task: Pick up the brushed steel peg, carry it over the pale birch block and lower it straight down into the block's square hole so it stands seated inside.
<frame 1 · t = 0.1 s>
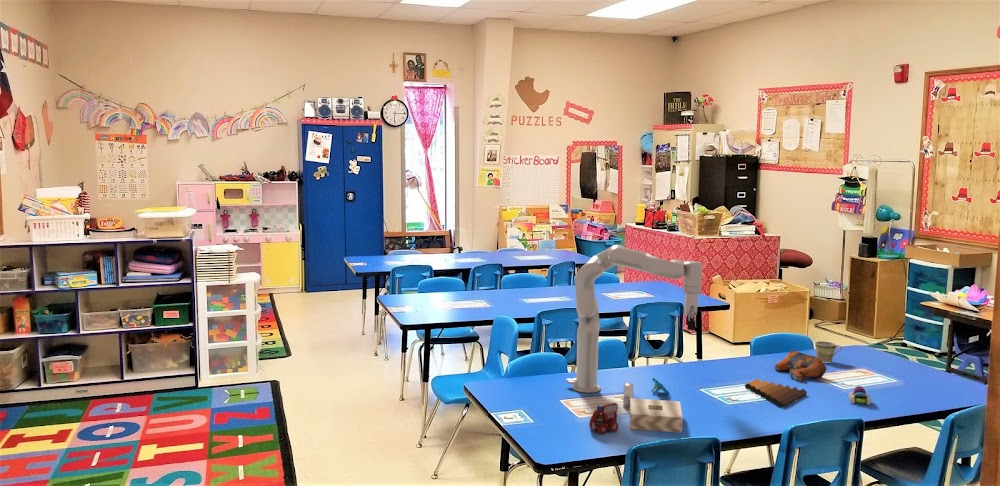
hand: (690, 327, 340), 31 cm above the table, tool pointing down, fingers open, 9 cm apart
hole block: (655, 422, 309), on the table
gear: (660, 394, 346), on the table
steel peg: (627, 407, 327), on the table
ceramic cup: (827, 362, 404), on the table
multicoloured small arched block: (859, 403, 338), on the table
toy fire truck: (603, 431, 299), on the table
pan flute: (768, 396, 347), on the table
orange lumpy piece: (795, 375, 381), on the table
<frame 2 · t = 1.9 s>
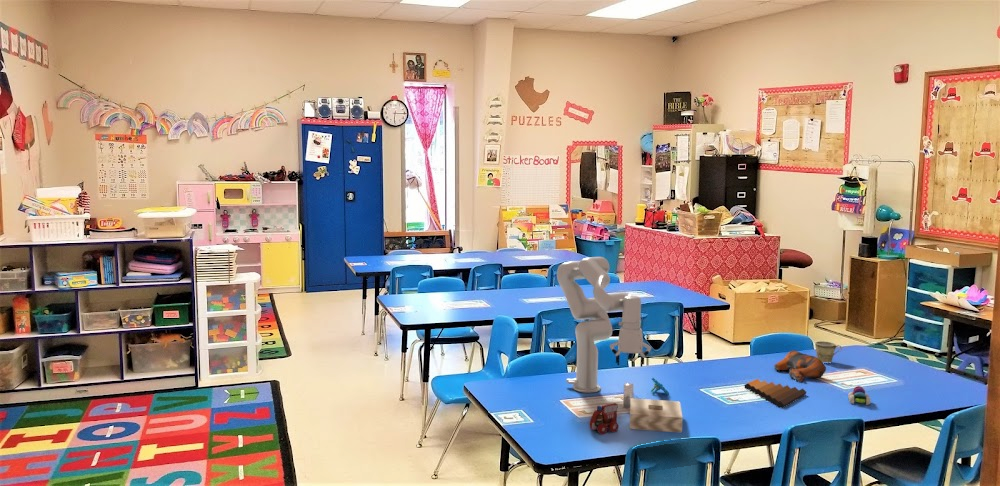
hand: (629, 365, 325), 18 cm above the table, tool pointing down, fingers open, 9 cm apart
nothing on the table moved.
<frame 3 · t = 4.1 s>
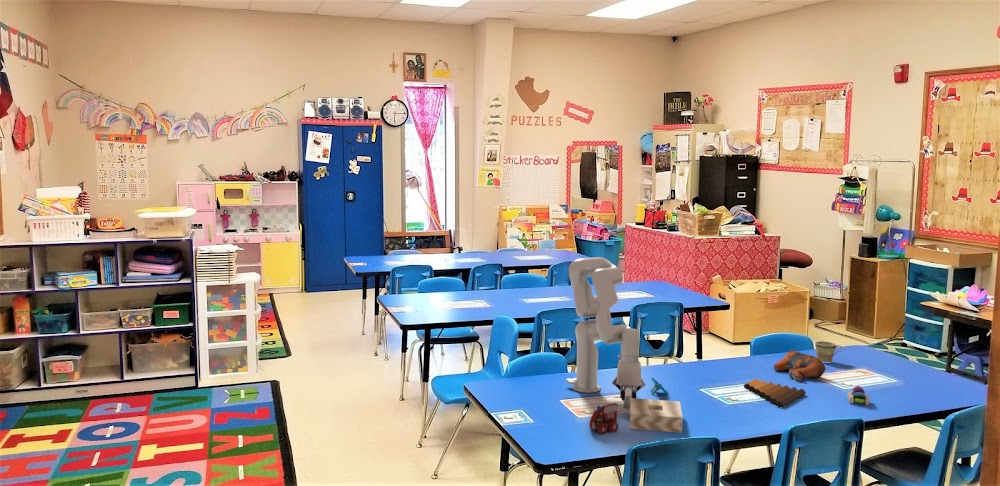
hand: (628, 399, 327), 3 cm above the table, tool pointing down, fingers closed on steel peg, 4 cm apart
steel peg: (627, 407, 327), on the table, touching gripper
everything else where it was.
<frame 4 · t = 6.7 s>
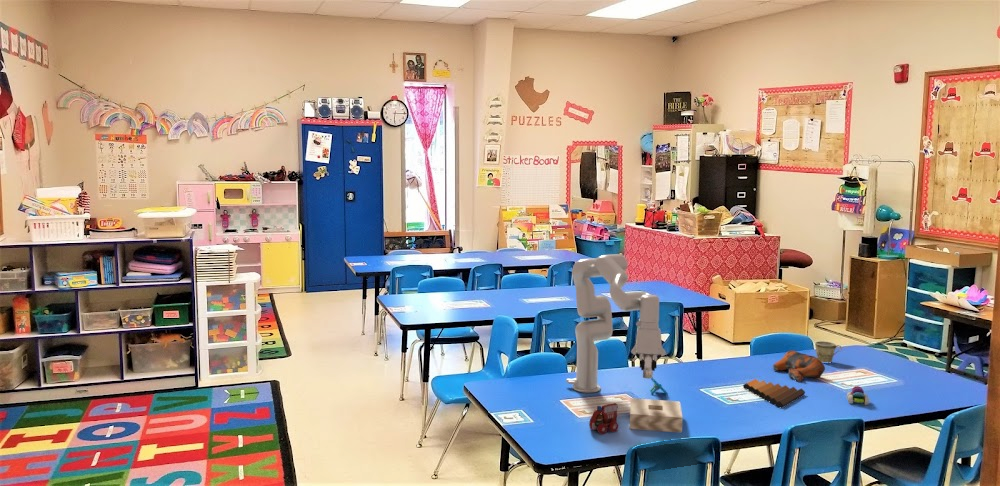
hand: (647, 369, 313), 20 cm above the table, tool pointing down, fingers closed on steel peg, 4 cm apart
steel peg: (647, 377, 313), point 17 cm above the table, touching gripper
everything else where it was.
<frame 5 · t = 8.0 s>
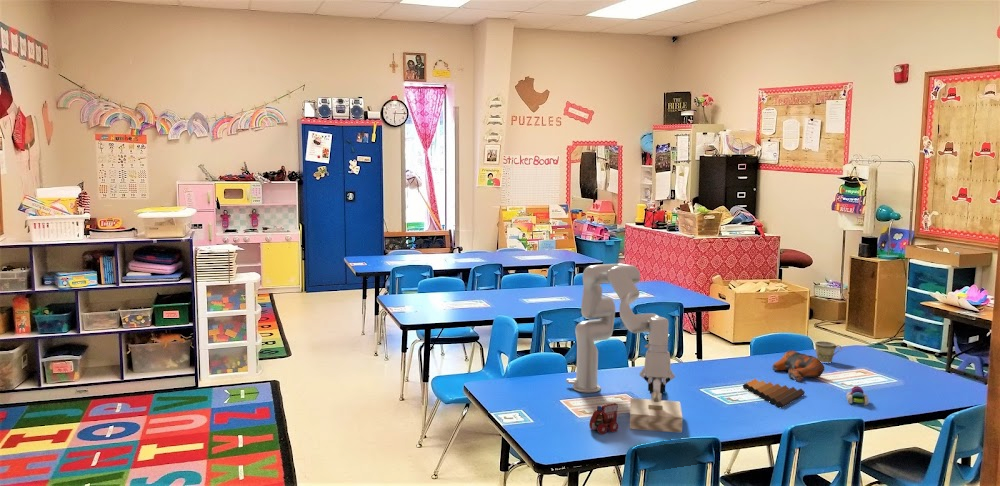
hand: (656, 392, 308), 12 cm above the table, tool pointing down, fingers closed on steel peg, 4 cm apart
steel peg: (656, 400, 308), point 9 cm above the table, touching gripper
when the fingers open (8 cm above the table, at t = 9.3 s): steel peg drops 4 cm, resting in hole block.
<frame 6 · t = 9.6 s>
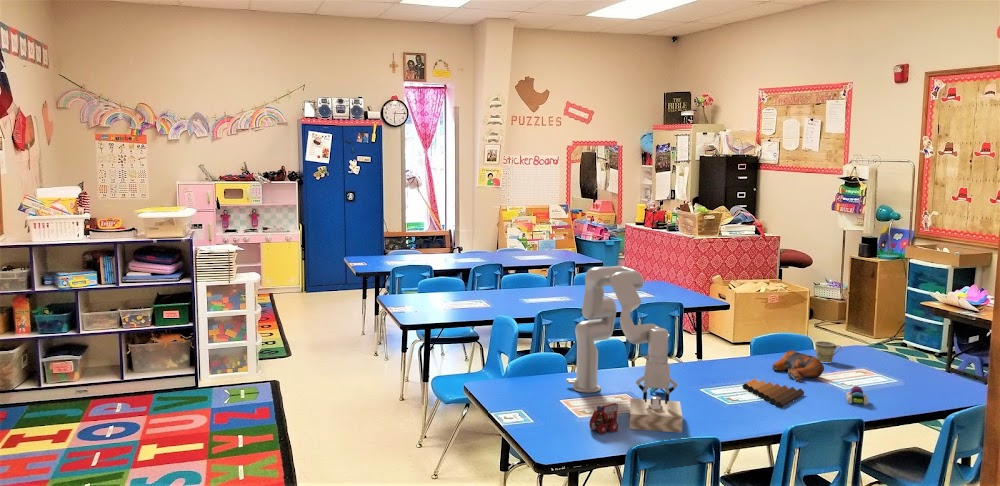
hand: (655, 401, 308), 8 cm above the table, tool pointing down, fingers open, 7 cm apart
steel peg: (654, 422, 309), resting in hole block
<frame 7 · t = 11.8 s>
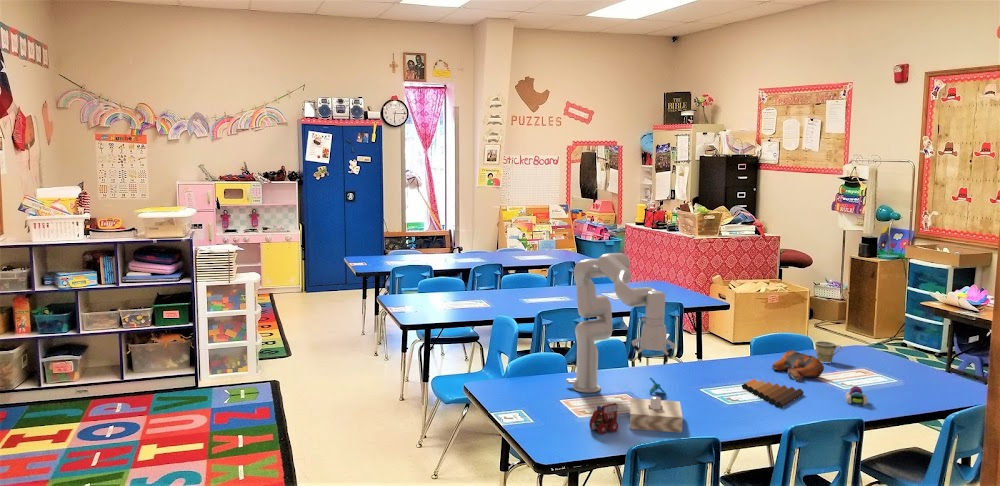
hand: (652, 362, 312), 23 cm above the table, tool pointing down, fingers open, 9 cm apart
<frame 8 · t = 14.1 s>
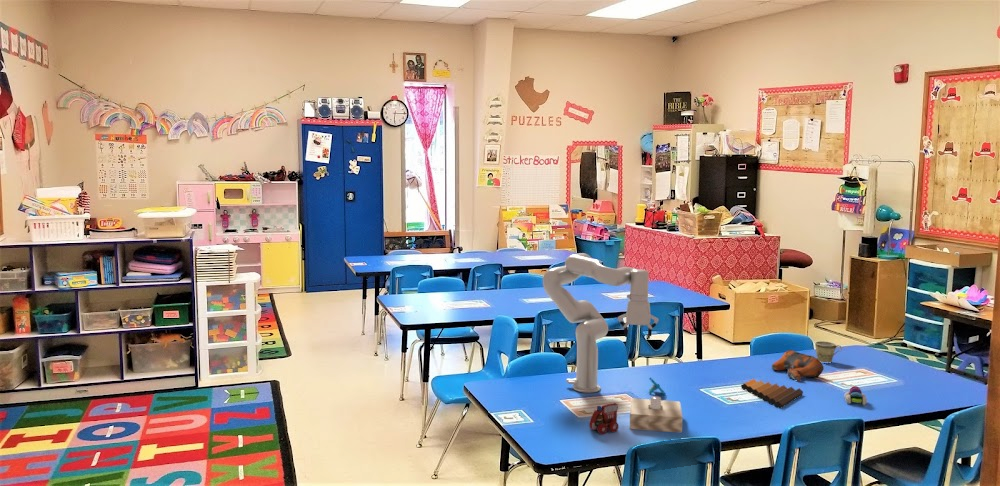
hand: (637, 337, 333), 28 cm above the table, tool pointing down, fingers open, 9 cm apart
at the end: steel peg 0.1 cm off-centre on the hole block, point 0.0 cm above the hole block's base; steel peg tilted 0°; the gripper is holding nothing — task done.
